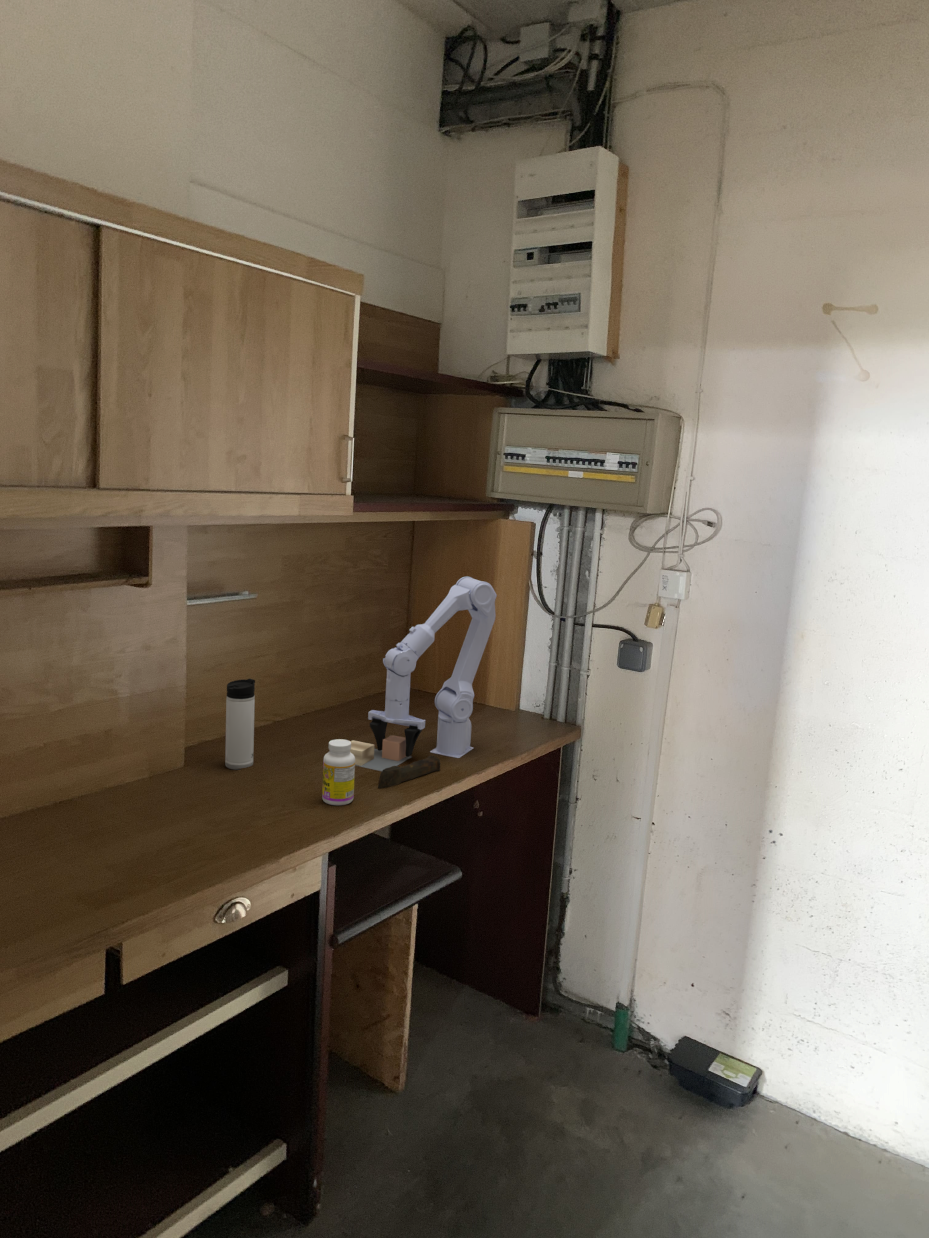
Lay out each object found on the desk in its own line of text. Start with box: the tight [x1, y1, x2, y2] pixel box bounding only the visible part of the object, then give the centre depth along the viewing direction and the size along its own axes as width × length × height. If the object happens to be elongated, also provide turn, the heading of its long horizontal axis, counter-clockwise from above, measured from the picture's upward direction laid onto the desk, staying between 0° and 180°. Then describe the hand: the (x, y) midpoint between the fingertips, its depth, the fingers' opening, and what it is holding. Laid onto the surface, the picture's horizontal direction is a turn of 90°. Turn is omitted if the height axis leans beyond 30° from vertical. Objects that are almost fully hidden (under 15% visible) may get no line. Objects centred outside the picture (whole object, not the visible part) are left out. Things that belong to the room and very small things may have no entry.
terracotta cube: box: [382, 734, 406, 761], centre depth 221 cm, size 4×4×4 cm
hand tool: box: [377, 755, 441, 789], centre depth 208 cm, size 19×4×5 cm, turn 139°
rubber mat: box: [355, 748, 412, 772], centre depth 219 cm, size 13×14×1 cm
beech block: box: [349, 739, 375, 767], centre depth 217 cm, size 6×6×4 cm
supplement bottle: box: [321, 738, 356, 806], centre depth 192 cm, size 7×7×13 cm
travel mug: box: [224, 678, 256, 771], centre depth 209 cm, size 6×7×20 cm
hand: (394, 752), depth 221 cm, fingers open, 7 cm apart
